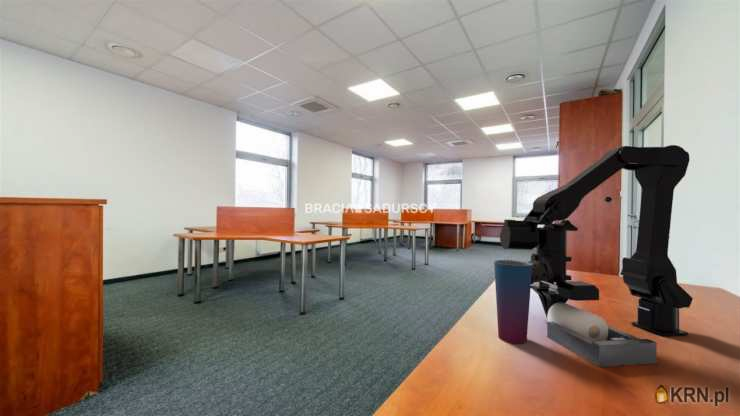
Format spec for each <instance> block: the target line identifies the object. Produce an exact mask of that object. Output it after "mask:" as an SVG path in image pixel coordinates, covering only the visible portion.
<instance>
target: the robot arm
mask: <svg viewBox="0 0 740 416" xmlns="http://www.w3.org/2000/svg"><path fill="white" fill-rule="evenodd" d="M690 159H691V158H690V154H689V152H688V151H686V150H685V149H684V148H683V147H681V146H680V145H674V144H671V145H670V144H669V145H666V146H663V147H662V146H629V145H623V146H620V147H616V148H613V149H610V150H608V151H606V153H605V154H604V155H603V156H601V157H600V158H599V159H597V160H596V161H595V162H593V163H592V164H590V166H588V167H587V168H585V169H584V170H582V171H581V172H580V173H579V174H578V175H576V176H575V177H574V178H572V179H571V180H569V181H568V182H567V183H565V184H563V185H562V186H560V187H557V188H555V189H553V190H550V191H548V192H545V193H544V194H542V195H540V196H538V197H537V198H535V200H534V201H533V202H532V209H530V211H529V212H528V214H526V216H525V218H524V219H523V220H515V219H504V221H503V225H502V227H501V230H500V233H499V242H500V245H501V247H502V249H504V250H509V251H510V250H511V251H512V250H515V251H517V250H519V251H532V250H534V248H535V247H536V253H532V254H531V256H530V260H529V261H527V262H528V263H531V264H532V276H531V289H532V290H533V291H534V293H536V294H537V295H538V297H539V300H540V303H541V305H542V308H543V312H544V313H545V317H546V321H548V319H547V314H548V311H549V309H550V307H551V306H552V305H553V304H555V303H558V302H563V303H566V304H567V302H568V301H569V300H570V301H575V302H576V301H577V302H578V301H581V302H582V301H600V289H599V288H598V287H597V286H596V285H595V284H592V283H588V282H585V281H581V280H576V281H575V280H574V281H573V280H572V275H570V274H568V273H567V271H568V270H567V266H568V265H567V262H572V261H573V260H572V256H569V255H567V254H568V253H567V252H568V251H567V249H568V248H567V247H568V246H567V245H568V240H567V239H568V237H567V236H568V232H577V231H578V230H579V228H578V227H576V225H574V224H573V223H572V222H571V221H570V219H569V220H568V218H569V217H570V216H572V214H573V213H574V212H575V211H577V209H578V208H579V207H580V204H581V202H582V200H583V199H584V198H585V197H586V196H587V195H588V194H590V193H591V192H592V191H594V190H595V189H597V188H598V187H599V186H601V185H602V184H603V183H604V182H606V181H608V180H609V179H610V178H611V177H613V176H614V175H615V174H616V173H618V172H619V171H621V170H626V171H633V172H634V177H635V179H636V181H637V182H638V184H639V185H640V187H641V198H640V209H639V219H638V229H637V238H636V249H635V251H634V253H633V254H632V255H631V256H630V258H629V257H622V260H621V264H622V267H621V272H620V273H619V274H620V275H621V276H622V281H623V283H624V284H625V285H626V286H627V288H628V289H629V293H630V295H631V296H632V297H638V306H637V321H630V324H631V325H632V326H635V327H638V328H640V329H643V330H646V331H649V332H652V333H654V334H657V335H660V336H665V337H668V336H669V337H670V336H688V335H689V332H688V331H686V330H682V329H680V309H683V308H685V309H687V308H690V306H691V305H692V302H693V297H692V296H691V295H690V294H689V292H687V291H686V290H685V289H684V288H683V287H681V285H680V284H679V283H678V278H677V277H678V276H677V270H676V267H675V265H674V264H673V262H672V261H671V259H670V257H669V254H668V253H669V252H668V251H669V242H670V233H671V223H672V222H671V220H672V213H673V201H674V192H675V188H676V187H677V186H678V184H679V183H680V182H681V181H682V179H683V178H684V177H685V176H686V174H687V171H688V166H689V165H690V164H689V163H690ZM557 221H560V222H557ZM538 225H540V226H541V225H543V227H538Z"/></svg>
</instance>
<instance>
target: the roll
mask: <svg viewBox="0 0 740 416" xmlns="http://www.w3.org/2000/svg"><path fill="white" fill-rule="evenodd" d="M547 319H548V320H547ZM546 320H547V322H555V323H557V324H559V325H561V326H563V327H565V328H567V329H569V330H571V331H574V332H576V333H578V334H580V335H582V336H584V337H586V338H588V339H590V340H592V341H606V339H607V336H608V326H609V325H608V324H607V322H606V320H605V319H604V318H603V317H601V316H600V315H596V314H594V313H591V312H589V311H586V310H584V309H581V308H580V307H577V306H574V305H571V304H568V303H567V302H566V303H563V302H558V303H555V304H553V305H552V306H551V307H550V309H549V311H548V314H547V317H546ZM607 325H608V326H607Z"/></svg>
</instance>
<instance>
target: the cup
mask: <svg viewBox="0 0 740 416" xmlns="http://www.w3.org/2000/svg"><path fill="white" fill-rule="evenodd" d="M528 262H529V261H523V260H513V259H497V260H494V261H493V267H494V280H495V282H494V285H495V297H496V299H495V300H496V315H497V316H496V317H497V331H498V333H497V335H498V338H499V339H500V340H501V341H504V342H506V343H509V344H513V345H523V344H526V343H527V342H528V341H527V340H528V331H529V330H528V327H529V315H530V314H529V313H530V301H531V286H532V285H531V276H532V264H531V263H528Z"/></svg>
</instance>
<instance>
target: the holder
mask: <svg viewBox="0 0 740 416" xmlns="http://www.w3.org/2000/svg"><path fill="white" fill-rule="evenodd" d="M607 326H608V336H607V339H606V341H592V340H590V339H588V338H586V337H584V336H582V335H580V334H578V333H576V332H574V331H571V330H569V329H567V328H565V327H563V326H561V325H559V324H557V323H555V322H548V321H547V322H546V330H547V331H546V334H547V335H546V337H547V338H549V340H551V341H554V342H555V343H557V344H558V345H561V346H563V347H564V348H566V349H567V350H569V351H571V352H572V353H574V354H575V355H578V356H579V357H581V358H583V359H584V360H586V361H588V362H590V363H591V364H594V365H596V367H599V368H605V367H620V366H619V365H624V366H638V365H637V364H641V365H654V364H655V365H656V364H658V363H657V362H658V361H657V359H658V358H657V356H658V355H657V353H658V351H657V347H658V346H657V343H658V342H656V341H654V340H652V339H649V338H640V337H637V336H634V335H632V334H629V333H627V332H625V331H623V330H620V329H617V328H615V327H613V326H611V325H608V324H607ZM635 364H636V365H635Z"/></svg>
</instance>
